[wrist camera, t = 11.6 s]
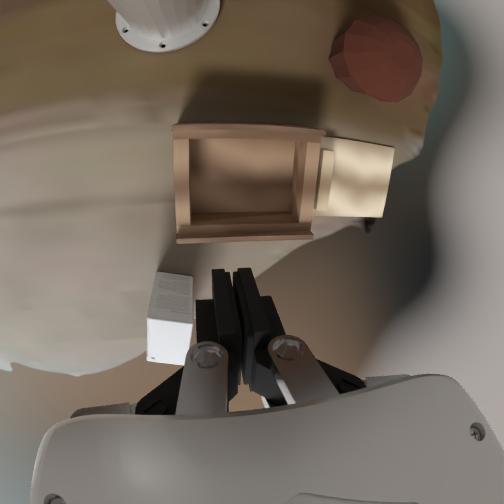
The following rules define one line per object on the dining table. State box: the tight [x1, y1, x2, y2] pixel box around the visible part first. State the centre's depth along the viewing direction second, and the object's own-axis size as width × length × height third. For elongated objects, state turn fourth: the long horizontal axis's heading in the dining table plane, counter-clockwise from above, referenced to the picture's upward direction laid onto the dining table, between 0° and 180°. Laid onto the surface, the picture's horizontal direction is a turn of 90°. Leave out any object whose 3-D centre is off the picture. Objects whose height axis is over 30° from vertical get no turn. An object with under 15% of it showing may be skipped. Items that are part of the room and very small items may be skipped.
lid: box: [312, 136, 395, 217], centre depth 37 cm, size 11×14×3 cm
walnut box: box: [172, 122, 326, 244], centre depth 32 cm, size 13×16×6 cm
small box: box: [147, 272, 193, 365], centre depth 37 cm, size 8×6×10 cm
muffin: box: [329, 14, 423, 102], centre depth 25 cm, size 12×11×10 cm
